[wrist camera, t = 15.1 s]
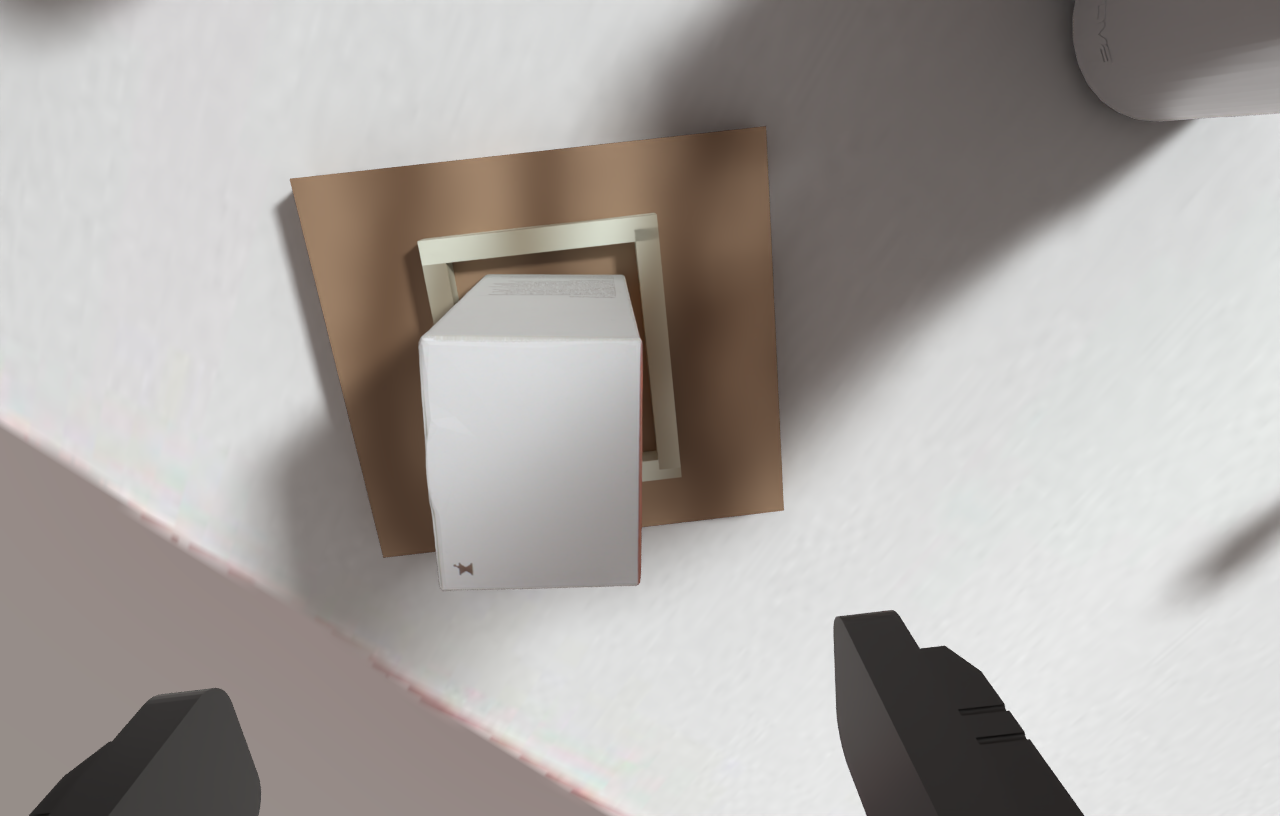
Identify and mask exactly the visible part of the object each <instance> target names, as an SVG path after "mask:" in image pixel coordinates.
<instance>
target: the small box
mask: <svg viewBox="0 0 1280 816" xmlns="http://www.w3.org/2000/svg"><path fill="white" fill-rule="evenodd" d="M418 349H419V366H420V381H421V395H422V407H423V421H424V434H425V450H426V475H427V485H428V495H429V503H430V507H431V513H432V519H433V529H434V537H435V549H436V557H437V567H438V577H439V586H440V589H441V590H442V591H451V590H493V589H537V588H568V587H606V586H637V585H638V584H639V583H640V578H641V529H642V393H643V363H642V340H641V338H640V335H639V331H638V327H637V323H636V320H635V316H634V312H633V308H632V304H631V300H630V296H629V292H628V288H627V283H626V279H625V276H624V275H544V274H488V275H485V276H484V277H483V278H482V279H481V280H480V281H479V282H478V283H477V284H476V285H475V286H474V287H473V288H472V289H471V290H470V291H468V292H467V293H466V294H465V295H464V296H463V298H462V299H461V300H460V301H459V302H458V303H456V304H455V305H454V306H453V307H452V308H451V309H450V310H449V311H448V312H447V313H446V314H445V315H444V316H443V317H442V318H441V319H440V320H439V321H438V322H437V323H436V324H435V325H434V326H433V327H432V328H431V329H430V330H429V331H427V332H426V333H425V334H424V335H423V336H422V337H421V338H420V340H419V346H418Z"/></svg>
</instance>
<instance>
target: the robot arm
mask: <svg viewBox="0 0 1280 816" xmlns="http://www.w3.org/2000/svg"><path fill="white" fill-rule="evenodd" d="M1073 44H1074V48H1075V53H1076V57H1077V62H1078V65H1079V67H1080V69H1081V72H1082V74H1083V76H1084V78H1085V80H1086V82H1087V84H1088V85H1089V87H1090V88H1091V89H1092V90H1093V92H1094V93H1095V94H1096V95H1097V97H1098V98H1099V99H1100V100H1101V101H1102V102H1104V103H1105V104H1106V105H1108V106H1109V107H1111V108H1112V109H1113V110H1115V111H1116V112H1118V113H1120V114H1123V115H1126V116H1128V117H1131V118H1134V119H1137V120H1146V121H1155V122H1159V121H1173V120H1187V119H1200V118H1214V117H1235V116H1249V115H1263V114H1277V113H1280V0H1075V5H1074V11H1073ZM834 660H835V687H836V712H837V722H838V729H839V735H840V740H841V744H842V748H843V752H844V756H845V759H846V762H847V765H848V768H849V770H850V773H851V776H852V778H853V781H854V783H855V786H856V789H857V791H858V794H859V797H860V799H861V802H862V804H863V807H864V810H865V812H866V815H867V816H1084V815H1083V813H1082V812H1081V810H1080V809H1079V808H1078V806H1077V805H1076V803H1075V802H1074V801H1073V799H1072V798H1071V796H1070V795H1069V794H1068V792H1067V791H1066V789H1065V788H1064V787H1063V785H1062V784H1061V782H1060V781H1059V780H1058V778H1057V777H1056V775H1055V774H1054V773H1053V771H1052V770H1051V768H1050V767H1049V766H1048V764H1047V763H1046V761H1045V760H1044V759H1043V757H1042V756H1041V754H1040V753H1039V752H1038V750H1037V749H1036V747H1035V746H1034V745H1033V743H1032V742H1031V740H1030V739H1029V740H1027V739H1026V737H1025V733H1024V731H1023V729H1022V728H1021V726H1020V725H1019V724H1018V722H1017V721H1016V719H1015V718H1014V717H1013V715H1012V714H1011V712H1010V711H1006V709H1005V705H1004V703H1003V701H1002V700H1001V698H1000V697H999V696H998V694H997V693H996V691H995V690H994V689H993V687H992V686H991V685H990V683H989V682H988V680H987V679H986V678H985V676H984V675H983V673H982V672H981V671H980V670H979V669H977V668H976V667H974V666H973V665H971V664H970V663H969V662H967V661H966V660H964V659H963V658H962V657H960V656H959V655H957V654H956V653H954V652H953V651H952V650H950V649H949V648H947V647H946V646H938V647H930V648H921V649H920V648H919V647H918V645H917V643H916V642H915V640H914V639H913V637H912V635H911V634H910V632H909V631H908V629H907V627H906V626H905V624H904V622H903V621H902V619H901V618H900V616H899V615H898V614H897V613H896V612H895V611H894V610H889V611H881V612H872V613H864V614H855V615H847V616H838V617H836V618H835V620H834ZM260 802H261V787H260V780H259V777H258V773H257V771H256V768H255V765H254V763H253V760H252V757H251V754H250V751H249V749H248V746H247V743H246V740H245V738H244V735H243V732H242V729H241V727H240V724H239V721H238V718H237V716H236V713H235V710H234V707H233V705H232V702H231V700H230V698H229V696H228V695H227V693H226V692H225V691H223V690H221V689H219V688H212V689H204V690H195V691H187V692H178V693H169V694H161V695H157V696H155V697H152V698H151V699H150V700H148V701H147V702H146V703H145V704H144V705H143V706H142V708H141V709H140V710H139V711H138V712H137V713H136V714H135V716H134V717H133V718H132V719H131V720H130V721H129V723H128V724H127V725H126V726H125V727H124V728H123V729H122V731H121V732H120V733H119V734H118V735H117V736H116V738H115V739H114V740H113V741H112V742H108V743H107V744H106V745H105V746H103V747H102V748H101V749H99V750H98V751H97V752H95V753H94V754H93V755H91V756H90V757H89V758H87V759H86V760H85V761H83V762H82V763H81V764H79V765H78V766H77V767H76V768H74V769H73V770H72V771H70V772H69V773H68V774H66V775H65V776H64V777H63V778H62V779H61V780H60V781H59V782H58V783H57V785H56V786H55V787H54V788H53V789H52V790H51V791H50V792H49V794H48V795H47V796H46V797H45V798H44V799H43V800H42V801H41V802H40V804H39V805H38V806H37V807H36V808H35V809H34V810H33V812H32V813H31V814H30V815H29V816H258V815H259V809H260Z"/></svg>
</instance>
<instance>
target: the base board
mask: <svg viewBox="0 0 1280 816" xmlns="http://www.w3.org/2000/svg"><path fill="white" fill-rule="evenodd" d="M290 182H291V186H292V190H293V194H294V198H295V202H296V206H297V210H298V214H299V218H300V222H301V227H302V231H303V235H304V239H305V243H306V247H307V251H308V255H309V259H310V263H311V267H312V271H313V275H314V279H315V283H316V287H317V291H318V295H319V299H320V303H321V307H322V311H323V315H324V319H325V324H326V328H327V332H328V336H329V340H330V344H331V348H332V352H333V356H334V360H335V364H336V368H337V372H338V376H339V380H340V384H341V388H342V392H343V396H344V400H345V404H346V408H347V412H348V416H349V421H350V425H351V429H352V433H353V437H354V441H355V445H356V449H357V453H358V457H359V461H360V465H361V469H362V473H363V477H364V481H365V485H366V489H367V493H368V497H369V501H370V505H371V509H372V513H373V518H374V522H375V526H376V530H377V534H378V538H379V542H380V546H381V550H382V554H383V558H386V557H394V556H403V555H411V554H419V553H428V552H436V549H435V537H434V529H433V519H432V513H431V507H430V503H429V495H428V485H427V475H426V450H425V434H424V421H423V407H422V395H421V381H420V366H419V349H418V346H419V340H420V338H421V337H422V336H423V335H424V334H425V333H426V332H427V331H429V330H430V329H431V328H432V327H433V326H434V325H435V324H436V323H437V322H438V321H439V320H440V319H441V318H442V317H443V316H444V315H445V314H446V313H447V312H448V311H449V310H450V309H451V308H452V307H453V306H454V305H455V304H456V303H458V302H459V301H460V300H461V299H462V298H463V296H464V295H465V294H466V293H467V292H468V291H470V290H471V289H472V288H473V287H474V286H475V285H476V284H477V283H478V282H479V281H480V280H481V279H482V278H483V277H484V276H485V275H488V274H544V275H624V276H625V279H626V283H627V288H628V292H629V296H630V300H631V304H632V308H633V312H634V316H635V320H636V323H637V327H638V331H639V335H640V338H641V340H642V363H643V393H642V527H648V526H656V525H665V524H673V523H682V522H690V521H699V520H707V519H715V518H724V517H732V516H741V515H749V514H758V513H766V512H775V511H783V510H784V504H783V483H782V461H781V439H780V418H779V396H778V374H777V353H776V331H775V310H774V288H773V266H772V245H771V223H770V202H769V180H768V158H767V137H766V126H763V127H754V128H745V129H736V130H727V131H718V132H709V133H700V134H691V135H682V136H673V137H664V138H655V139H646V140H637V141H627V142H618V143H609V144H600V145H591V146H582V147H573V148H564V149H555V150H546V151H537V152H528V153H519V154H510V155H501V156H492V157H483V158H474V159H465V160H456V161H447V162H438V163H428V164H419V165H410V166H401V167H392V168H383V169H374V170H365V171H356V172H347V173H338V174H329V175H320V176H311V177H302V178H293V179H290Z"/></svg>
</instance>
